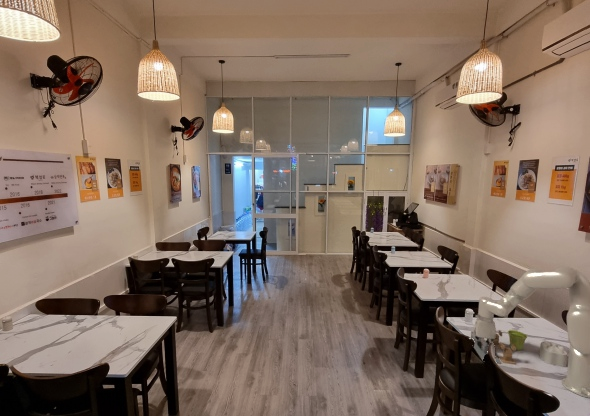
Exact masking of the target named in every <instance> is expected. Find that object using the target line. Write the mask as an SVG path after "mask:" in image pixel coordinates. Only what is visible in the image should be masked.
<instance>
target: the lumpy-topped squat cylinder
mask: <svg viewBox="0 0 590 416" xmlns="http://www.w3.org/2000/svg"><path fill="white" fill-rule="evenodd" d="M539 345H540V346H539V357H540V358H541V360H542V361H543V362H545V363H547V364H549V365H552V366H557V367H562V368H566V367H567V364H568V362H567V361H568V353H567V351H566V350H565V348H564V347H563V346H562V345H558V344H557V343H555V342H551V341H542V342H540V343H539Z"/></svg>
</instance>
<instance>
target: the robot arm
mask: <svg viewBox="0 0 590 416" xmlns="http://www.w3.org/2000/svg"><path fill="white" fill-rule="evenodd" d="M539 289H540V290H565V289H568V298H569V309H568V311H567V314H566V327H567V337H568V343H569V351H568V358H567V361H568V362H567V371H566V373H567V374H566V377H564V378H562V379H561V384H562V385H563V387H565V388H566V389H567V390H568V391H570V392H572V393H573V394H576V395H578V396H581V397H584V398H588V399H590V280H589V279H588V278H587V277H586V276H585V274H584V273H582V272H580V271H579V270H577V269H574V268H573V267H570V266H561V267H558V268H556V269H554V271H542V270H540V269H538V268H529V269H528V270H527V271H525V272H524V273H523V274H522V276H521V277H520V278H518V280H517V281H515V282H514V283H513V284H512V285H511V286H510V289H509V290H508V291H507V292H506V294H504V295H503V296H502V297H501V298H500V299H499V300H498V301H495V299H493V298H491V297H487V296H480V298H479V299H478V311H477V312H478V313H477V314H475V319H476V320H475V323H474V328H473V330H472V331H473V332H472V333H470V334H471V335H472V336H474V337H475V338H476V339H477V345H478V346H479V348H481V338H484V339H485V341H486V342H487V343H488V344H489V343H491V342H492V341H493V340H495V339H497V336H496V334H497V333H496V330H497V327H496V324H495V323H496V322H495V321H494V315H496V316H497V317H502V318H505V317H507V316H508V315H509V314H510V313H511V312H512V311H513V310H514V309H515V308H516V307H517V306H518V305H519V304H521V303H522V302H523V301H524V300H527V299H528V298H529V297H530V296H531V295H533V293H534V292H536V291H537V290H539ZM475 334H476V335H475ZM471 335H470V336H471Z"/></svg>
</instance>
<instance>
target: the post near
mask: <svg viewBox="0 0 590 416" xmlns="http://www.w3.org/2000/svg"><path fill="white" fill-rule="evenodd" d="M500 345H501V348H500V349H501V350H503V351H502V355H501V356H500V355H499V356H498V359H499V360H500V362H501V363H503V364H510V365H515V366H516V365H517V362H515V360H514V358H513V352H517V349H516V347H515V346H514V345H513V344H512V345H511V346H510V347H506V345H505V343H503V342H501V343H500Z"/></svg>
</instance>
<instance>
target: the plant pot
mask: <svg viewBox="0 0 590 416" xmlns="http://www.w3.org/2000/svg"><path fill="white" fill-rule="evenodd" d="M507 333H508V337H509V346H510V347H511V345H512V344H513V345H514V346H515V347H516V351H517V350H518V351H521V350H522V351H523V350H524V346H525V345H524V344H525V342H526V339H527V338H528V336H527V334H526V333H523V332H522V331H519V330H514V329H513V330H512V329H510V330H507Z"/></svg>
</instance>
